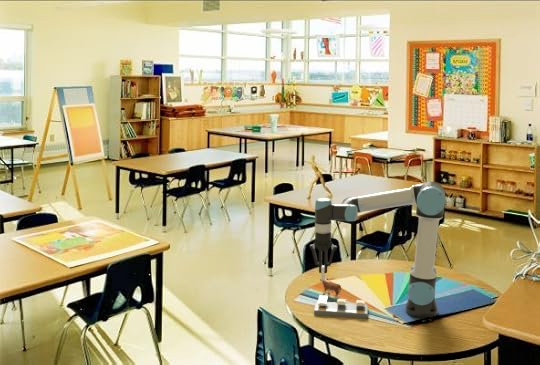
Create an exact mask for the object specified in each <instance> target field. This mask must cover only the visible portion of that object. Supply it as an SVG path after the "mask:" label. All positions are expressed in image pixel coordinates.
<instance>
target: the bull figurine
mask: <svg viewBox="0 0 540 365" xmlns="http://www.w3.org/2000/svg"><path fill="white" fill-rule="evenodd" d="M319 280H320V282H321V283H322V285H323V288H324V289H323V290H324V291H323V294H322V296H325V295H326V292H327V294H328V295H330V294H331V293H334V292H335V294H334V296H335V297H334V298H335V299H338V296H339V295H340V294H341V290H342V287H341V286H342V285H340V284H338V283H336V282H333V281H330V280H329V279H328V278H325V280H321V278H320V279H319ZM330 291H331V292H330Z"/></svg>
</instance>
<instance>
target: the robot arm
mask: <svg viewBox="0 0 540 365" xmlns="http://www.w3.org/2000/svg"><path fill="white" fill-rule="evenodd" d="M408 205H409V206H410V205H414V206H416V211H415V215H416V217H418V224H417V225H418V226H417V234H416V235H417V236H416V243H415V244H416V246H415V254H414V264H413V265H412V266H411V267H410V271H409V279H408V286H407V287H408V288H407V292H406V293H407V297H408V298H407V301H406V303H405V310H406V311H405V312H406V314H408V313H409V314H408V315H410V314H411V315H410V316H412V315H413V316H412V317H415V316H417V317H416V318H420V317H430V318H434V317H436V316H438V313H439V307H438V303H437V301H436V300H437V299H436V283H437V268H436V267H435V260H436V251H437V245H438V244H437V243H438V233H439V223H440V220H442V219H443V218H444V213H445V212H444V211H445V205H446V191H445V188H444V186H442V184H440V183H439V182H436V181H426V182H423V183H417V184H413V185H412V186H411V187H409V188H401V189H396V190H391V191H390V190H389V191H384V192H378V193H373V194H367V195H362V196H357V197H353V196H347V197H346V198H344V199H343V201H342V202H341V203H332V200H331V198H325V197H323V198H322V197H320V198H318V199H316V200H315V206H314V213H315V214H314V215H315V218H314V220H315V221H314V231H315V232H314V234H315V235H314V242H313V244H309V249H310V250H311V255H312V257H313V261H314V265H315V266H317V267H318V272H319V274H321V276H320V279H321V280H325V279H326V274H327V273H328V267H330V266H331V265H332V263H333V262H332V261H333V258H334V254H335V251H336V250H337V248H338V246H337V244H336V245H334V244H333V242H332V232H331V231H332V221H340V222H341V221H345V222H356V220H357V219H358V214H360V213H364V212H371V211H377V210H378V211H379V210H383V209H389V208H395V207H402V206H403V207H404V206H408ZM330 248H331V251H330V257H329V261H328V251H329V249H330ZM316 249H317V250H318V256H317V253H316ZM323 252H324V255H323ZM323 258H324V259H323ZM323 261H324V265H323ZM433 316H434V317H433Z"/></svg>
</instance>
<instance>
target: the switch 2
mask: <svg viewBox="0 0 540 365" xmlns="http://www.w3.org/2000/svg"><path fill="white" fill-rule="evenodd" d="M355 304H356V306H365V304H366V301H365V299H362V300H361V299H356V302H355Z"/></svg>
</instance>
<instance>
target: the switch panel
mask: <svg viewBox="0 0 540 365" xmlns="http://www.w3.org/2000/svg"><path fill="white" fill-rule="evenodd" d="M318 301H319V300H317V301H316V302H315V306H314V309H313V315H314V316H315V315H317V316H327V317H329V316H330V317H331V316H332V317H344V318H358V319H359V318H360V319H368V313H369V312H368V310H369V309H368V308H369V305H368V304H369V303H368V304H367V303H365V306H356V303H352V302H351V303H347V302H346V304H345V305H338V304H337V301H336V302H335V301H334V302H333V301H332V302H331V301H327V305H326V306H320V305H318Z"/></svg>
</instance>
